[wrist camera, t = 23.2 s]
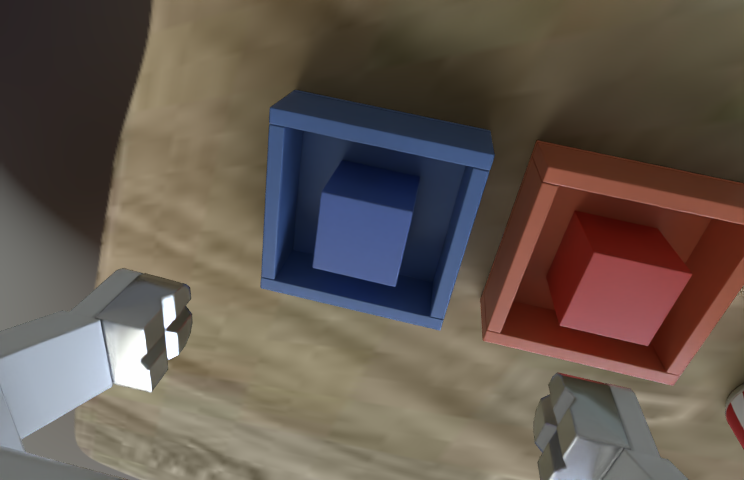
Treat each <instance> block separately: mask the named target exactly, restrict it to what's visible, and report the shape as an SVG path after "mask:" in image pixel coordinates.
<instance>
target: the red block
mask: <svg viewBox="0 0 744 480" xmlns="http://www.w3.org/2000/svg"><path fill="white" fill-rule="evenodd" d="M691 276H692V272H691V271H690V270H689V268H688V267H687V266H686V265H685V263H684V262H683V261H682V259H681V258H680V257H679V255H678V254H677V253H676V251H675V250H674V249H673V248H672V246H671V245H670V244H669V242H668V241H667V240H666V238H665V237H664V236H663V235H662V233H661V232H660V231H659V229H658V228H653V227H649V226H644V225H639V224H635V223H630V222H626V221H621V220H616V219H612V218H607V217H603V216H598V215H593V214H589V213H584V212H580V211H574V213H573V215H572V217H571V220H570V222H569V224H568V227H567V229H566V231H565V234H564V236H563V238H562V241H561V243H560V245H559V248H558V250H557V252H556V255H555V257H554V259H553V262H552V264H551V266H550V269H549V271H548V273H547V276H546V279H547V282H548V286H549V290H550V293H551V297H552V301H553V304H554V308H555V311H556V315H557V319H558V322H559V325H560V326H564V327H568V328H573V329H577V330H581V331H586V332H590V333H594V334H598V335H603V336H607V337H611V338H616V339H620V340H624V341H629V342H633V343H637V344H641V345H646V346H648V345H649V344H650V342H651V340H652V339H653V337H654V336H655V334H656V332H657V331H658V329H659V327H660V326H661V324H662V323H663V321H664V319H665V318H666V316H667V315H668V313H669V311H670V310H671V308H672V307H673V305H674V303H675V302H676V300H677V298H678V297H679V295H680V294H681V292H682V290H683V289H684V287H685V286H686V284H687V282H688V281H689V279H690V278H691Z"/></svg>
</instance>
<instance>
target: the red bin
mask: <svg viewBox="0 0 744 480" xmlns="http://www.w3.org/2000/svg"><path fill="white" fill-rule="evenodd" d="M574 211H580V212H584V213H589V214H593V215H598V216H603V217H607V218H612V219H616V220H621V221H626V222H630V223H635V224H639V225H644V226H649V227H653V228H658V229H659V231H660V232H661V233H662V235H663V236H664V237H665V238H666V240H667V241H668V242H669V244H670V245H671V246H672V248H673V249H674V250H675V251H676V253H677V254H678V255H679V257H680V258H681V259H682V261H683V262H684V263H685V265H686V266H687V267H688V268H689V270H690V271H691V272H692V276H691V278H690V279H689V281H688V282H687V284H686V286H685V287H684V289H683V290H682V292H681V294H680V295H679V297H678V298H677V300H676V302H675V303H674V305H673V307H672V308H671V310H670V311H669V313H668V315H667V316H666V318H665V319H664V321H663V323H662V324H661V326H660V327H659V329H658V331H657V332H656V334H655V336H654V337H653V339H652V340H651V342H650V344H649V345H648V346H646V345H641V344H637V343H633V342H629V341H624V340H620V339H616V338H611V337H607V336H603V335H598V334H594V333H590V332H586V331H581V330H577V329H573V328H568V327H564V326H560V325H559V322H558V319H557V315H556V311H555V308H554V304H553V301H552V297H551V293H550V290H549V286H548V282H547V279H546V276H547V273H548V271H549V269H550V266H551V264H552V262H553V259H554V257H555V255H556V252H557V250H558V248H559V245H560V243H561V241H562V238H563V236H564V234H565V231H566V229H567V227H568V224H569V222H570V220H571V217H572V215H573V213H574ZM743 285H744V183H740V182H735V181H730V180H726V179H721V178H716V177H711V176H706V175H702V174H697V173H692V172H687V171H683V170H678V169H673V168H668V167H663V166H659V165H654V164H649V163H644V162H639V161H635V160H630V159H625V158H620V157H616V156H611V155H606V154H601V153H596V152H592V151H587V150H582V149H577V148H572V147H568V146H563V145H558V144H553V143H549V142H544V141H539V140H537V141H536V143H535V146H534V149H533V152H532V155H531V157H530V160H529V163H528V166H527V169H526V172H525V174H524V177H523V180H522V183H521V186H520V189H519V191H518V194H517V197H516V200H515V203H514V206H513V208H512V211H511V214H510V217H509V220H508V223H507V226H506V228H505V231H504V234H503V237H502V240H501V243H500V245H499V248H498V251H497V254H496V257H495V260H494V262H493V265H492V268H491V271H490V274H489V277H488V279H487V282H486V285H485V288H484V291H483V294H482V296H481V299H480V302H481V318H482V336H483V341H487V342H491V343H495V344H499V345H504V346H508V347H512V348H516V349H521V350H525V351H529V352H533V353H537V354H542V355H546V356H550V357H554V358H559V359H563V360H567V361H571V362H575V363H580V364H584V365H588V366H592V367H597V368H601V369H605V370H609V371H613V372H618V373H622V374H626V375H630V376H635V377H639V378H643V379H647V380H651V381H656V382H660V383H664V384H668V385H674V384H675V383H676V381H677V380H678V378H679V377H680V375H681V374H682V373H683V371H684V370H685V368H686V367H687V366H688V364H689V363H690V361H691V360H692V358H693V357H694V356H695V354H696V353H697V351H698V350H699V348H700V347H701V346H702V344H703V343H704V341H705V340H706V338H707V337H708V335H709V334H710V333H711V331H712V330H713V328H714V327H715V325H716V324H717V323H718V321H719V320H720V318H721V317H722V315H723V314H724V313H725V311H726V310H727V308H728V307H729V305H730V304H731V303H732V301H733V300H734V298H735V297H736V295H737V294H738V292H739V291H740V290H741V288H742V287H743Z"/></svg>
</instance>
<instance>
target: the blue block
mask: <svg viewBox="0 0 744 480" xmlns="http://www.w3.org/2000/svg"><path fill="white" fill-rule="evenodd" d="M419 182H420V177H418V176H414V175H409V174H404V173H400V172H395V171H391V170H386V169H381V168H377V167H372V166H368V165H363V164H358V163H354V162H349V161H344V160H342V161H341V162H340V164H339V165H338V167H337V168H336V170H335V171H334V173H333V175H332V176H331V178H330V179H329V181H328V182H327V184H326V185H325V187H324V188H323V190H322V192H321V198H320V206H319V215H318V223H317V232H316V240H315V249H314V257H313V268H316V269H320V270H325V271H329V272H333V273H338V274H342V275H346V276H351V277H355V278H359V279H363V280H368V281H372V282H376V283H381V284H385V285H389V286H394V287H395V286H396V284H397V280H398V275H399V271H400V267H401V262H402V258H403V254H404V249H405V245H406V241H407V237H408V232H409V228H410V224H411V219H412V215H413V211H414V206H415V201H416V196H417V191H418V186H419Z"/></svg>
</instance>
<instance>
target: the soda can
mask: <svg viewBox="0 0 744 480" xmlns="http://www.w3.org/2000/svg"><path fill="white" fill-rule="evenodd" d="M725 416H726V420H727V422H728V424H729V425H730V427H731V429H732V430H733V432H734V434H735V435H736V437H737V439H738V440H739V442H740V444H741V446H742V447H743V449H744V384H742V385H740V386H739V387H737V388H736V389H735V390H734V391H733V392H732V393H731V394H730V395H729V397H728V399H727V401H726V409H725Z"/></svg>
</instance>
